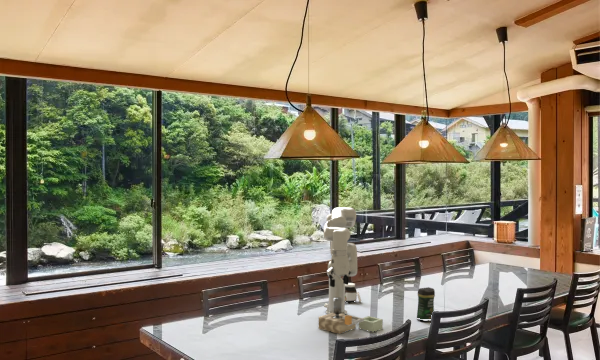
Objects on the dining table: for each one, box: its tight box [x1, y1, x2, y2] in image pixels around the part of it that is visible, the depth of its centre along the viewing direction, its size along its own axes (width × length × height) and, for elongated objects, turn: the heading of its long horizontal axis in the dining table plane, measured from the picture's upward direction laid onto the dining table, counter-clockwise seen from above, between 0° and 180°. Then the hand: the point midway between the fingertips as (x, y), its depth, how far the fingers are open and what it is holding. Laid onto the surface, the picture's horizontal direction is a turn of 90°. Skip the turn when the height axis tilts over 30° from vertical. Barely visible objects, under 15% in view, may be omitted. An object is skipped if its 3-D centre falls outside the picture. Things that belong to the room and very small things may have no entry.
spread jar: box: [345, 282, 362, 303], centre depth 318 cm, size 12×11×12 cm
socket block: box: [318, 313, 356, 335], centre depth 259 cm, size 14×14×6 cm
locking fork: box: [342, 314, 364, 326], centre depth 249 cm, size 10×14×5 cm
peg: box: [333, 297, 342, 319], centre depth 259 cm, size 4×4×16 cm
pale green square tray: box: [358, 315, 384, 333], centre depth 259 cm, size 9×9×5 cm
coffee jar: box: [416, 286, 436, 319], centre depth 278 cm, size 10×8×19 cm
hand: (339, 285), depth 256 cm, fingers open, 9 cm apart
